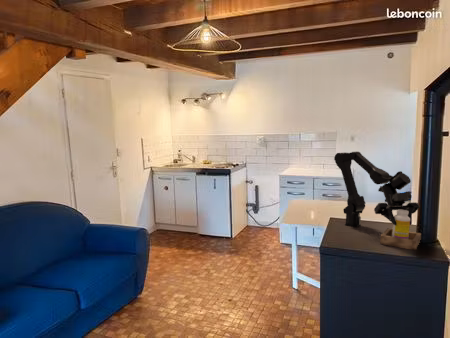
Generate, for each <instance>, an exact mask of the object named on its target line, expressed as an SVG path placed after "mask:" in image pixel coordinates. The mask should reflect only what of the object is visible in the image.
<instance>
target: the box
mask: <svg viewBox="0 0 450 338" xmlns="http://www.w3.org/2000/svg"><path fill="white" fill-rule="evenodd" d="M392 230H393V228H386V229H385V230H384V231H383V233H381V234H380V245H384V246H390V247H396V248H401V249H406V250H412V251H417V249H418V248H419V246H420V244H421V242H420V240H422V233H421V232H415V231H414V232H413V231H409V238H408V239H404V238H398V237H392ZM419 243H420V244H419ZM418 245H419V246H418Z"/></svg>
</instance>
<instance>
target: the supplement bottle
mask: <svg viewBox="0 0 450 338" xmlns="http://www.w3.org/2000/svg"><path fill="white" fill-rule="evenodd" d="M408 213H409V211H407V210H402V209H397V210H396V214H395V215H394V218H395V220H396V225H394V224H393V223H392V229H393V230H392V237H398V238H404V239H408V238H409V232H410V228H411V227H410V226H411V225H410V218H409V217H408Z"/></svg>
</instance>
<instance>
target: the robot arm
mask: <svg viewBox="0 0 450 338" xmlns="http://www.w3.org/2000/svg"><path fill="white" fill-rule="evenodd" d="M333 160H334V161H335V164H336V166H337V167H338V168H339V170H340V171H341V174H342V175H341V176H342V178H343V181H344V185H345V188H346V193H347V195H348V196H347V200H346V204H347V205H346V207H344V208H343V210H342V211H343V214H345V223H344V226H348V227H349V226H350V227H355V228H357V227H359V226H360V225H361V222H362V221H361V219H362V217H361V216H360V215H361V214H363V211H364V210H365V208H366V201H365V197H364V196H363V195H360V194H359V192H358V189H357V185H356V182H355V178H354V175H353V172H352V169H351V168H352V164H353V163H352V161H353V162H355V163H356V164H357V165H358V166H360V167H361V168H362V169H363V170H364V171H365V172H367V173H368V175H369V178H370V179H371V180H372V182H373V183H374V184H376V185H379V188H378V190H377V191H378V192H380V193H383V195H384V198H385V199H384V202H379V203H377V204H376V206H375V207H374V210H373V211H374V214H375V215H380V216H383V217H384V218H386V220H388V221H389V222H390V223H391V224H392V225H393V224H394V225H396V220H395V218H394V216H395V215H394V214H393V211H397V209H402V210H407V211H409V213H408V217H409V218H410V226H411V225H412V223H413V222H412V221H413V220H412V218H413V216H412V215H413V214H415V213H416V212H417V211H418V210H419V209H420V208H421V206H420V204H419V203H418V202H414V201H413V202H408V203H407V204H406V205H404V204H405V203H406V201H409V200H410V199H412V193H411V192H410V191H405V192H398V191H401V190H402V189H403V188H405V187H406V186H408V185H409V184H411V178H410V176H408V175H407V174H406V173H403V171H402V170H401V171H397V172H396V174H394V175H391V174H390V173H389V172H387V171H386V170H384V169H382V168H379V167H377V166H376V165H375V164H374V163H372V162H371V161H370V160H369V159H368V158H366V157H365V155H363V154H362V153H361V152H360V151H351V152H337V153H335V155H334V157H333Z"/></svg>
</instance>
